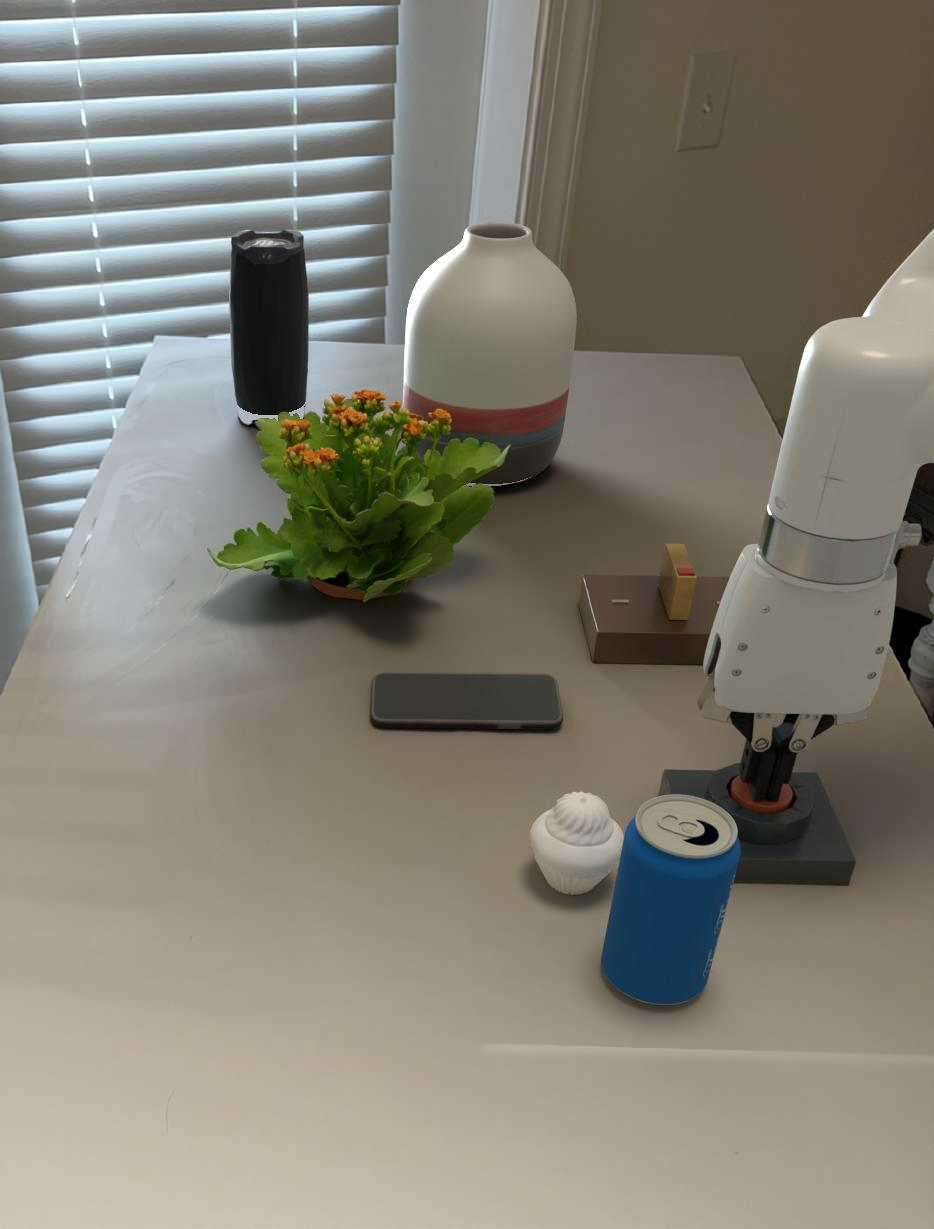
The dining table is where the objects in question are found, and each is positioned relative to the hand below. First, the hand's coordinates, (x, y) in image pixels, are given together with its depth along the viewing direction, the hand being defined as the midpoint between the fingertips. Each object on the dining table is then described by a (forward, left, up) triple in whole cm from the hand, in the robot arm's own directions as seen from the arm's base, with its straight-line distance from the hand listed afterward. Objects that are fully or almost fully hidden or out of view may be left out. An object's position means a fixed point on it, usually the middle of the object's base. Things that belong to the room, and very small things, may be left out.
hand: (760, 788), depth 91 cm
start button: (0, 0, -2) cm, 2 cm away
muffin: (+13, +5, -5) cm, 14 cm away
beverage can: (+9, +14, -5) cm, 17 cm away
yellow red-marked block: (+1, -28, -1) cm, 28 cm away
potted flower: (+27, -38, -5) cm, 47 cm away
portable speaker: (+38, -76, -5) cm, 85 cm away
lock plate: (+1, -28, -4) cm, 28 cm away
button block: (0, 0, -4) cm, 4 cm away
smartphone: (+19, -16, -4) cm, 25 cm away
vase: (+15, -63, -5) cm, 65 cm away
